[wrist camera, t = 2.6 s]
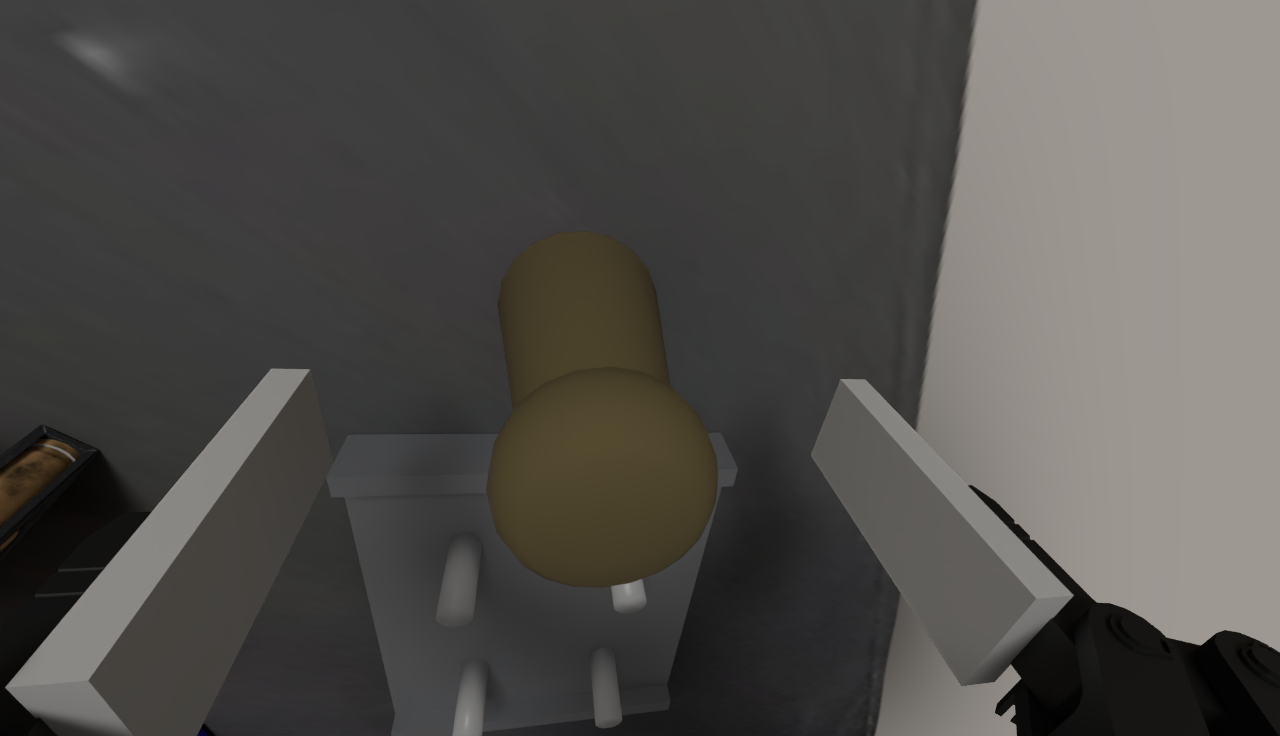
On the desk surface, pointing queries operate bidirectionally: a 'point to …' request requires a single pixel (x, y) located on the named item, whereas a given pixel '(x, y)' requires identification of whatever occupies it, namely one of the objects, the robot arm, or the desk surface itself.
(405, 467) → the pin tray
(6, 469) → the ammunition clip
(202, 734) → the puzzle cube
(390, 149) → the desk surface
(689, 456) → the cork
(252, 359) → the desk surface
